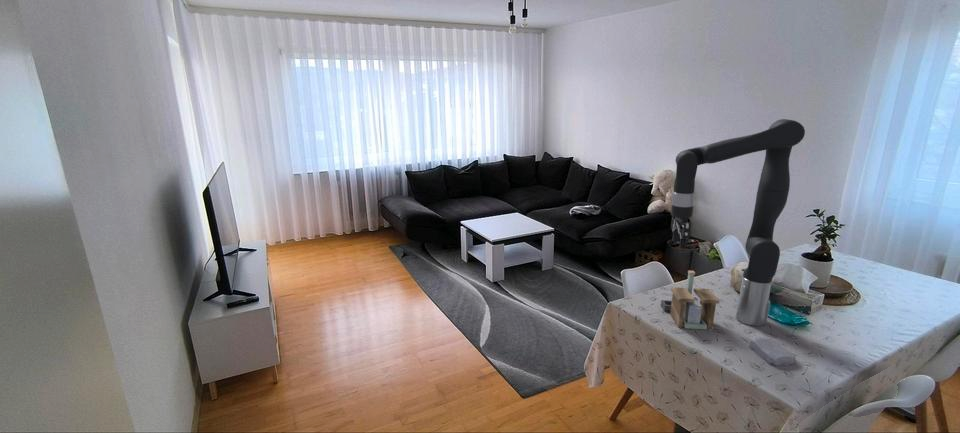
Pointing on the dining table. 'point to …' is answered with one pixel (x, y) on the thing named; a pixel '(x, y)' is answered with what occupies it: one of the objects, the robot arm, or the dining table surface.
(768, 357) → the stone block
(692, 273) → the slider
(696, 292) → the tunnel
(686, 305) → the medicine box
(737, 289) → the coin bank
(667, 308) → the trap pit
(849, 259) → the dining table surface
